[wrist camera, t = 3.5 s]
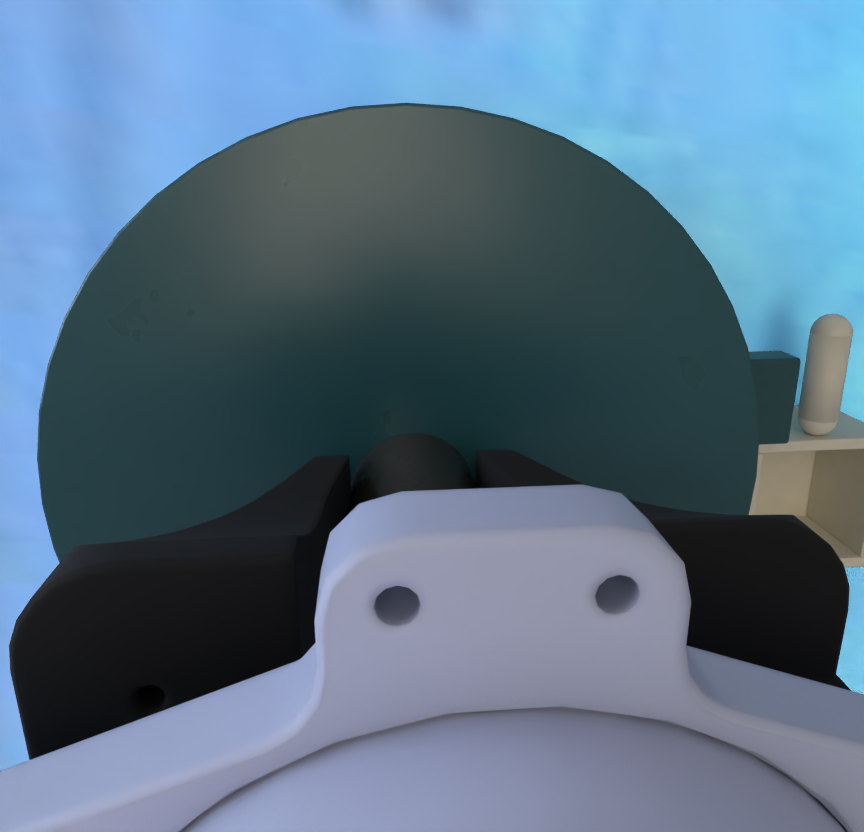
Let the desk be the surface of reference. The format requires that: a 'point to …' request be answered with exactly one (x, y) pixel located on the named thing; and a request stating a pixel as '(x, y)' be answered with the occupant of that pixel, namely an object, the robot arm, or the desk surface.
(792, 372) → the pot
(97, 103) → the desk surface
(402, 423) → the pot lid
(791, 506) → the scoop
